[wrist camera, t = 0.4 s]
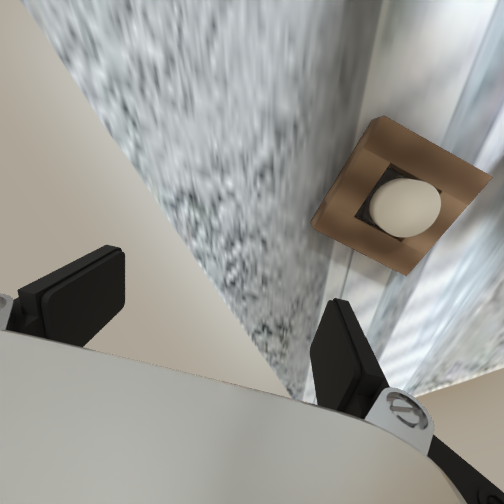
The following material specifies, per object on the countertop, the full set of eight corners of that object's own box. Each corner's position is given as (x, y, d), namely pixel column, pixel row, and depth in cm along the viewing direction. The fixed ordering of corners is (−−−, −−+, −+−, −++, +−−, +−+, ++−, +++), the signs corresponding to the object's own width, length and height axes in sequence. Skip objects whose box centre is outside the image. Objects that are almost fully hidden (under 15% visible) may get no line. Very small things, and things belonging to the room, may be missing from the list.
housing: (372, 119, 33) (383, 115, 29) (469, 174, 34) (492, 176, 30) (310, 221, 39) (313, 228, 35) (394, 264, 40) (406, 276, 36)
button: (391, 168, 31) (404, 169, 28) (436, 193, 32) (454, 197, 28) (358, 215, 34) (366, 222, 31) (401, 237, 34) (413, 246, 31)
